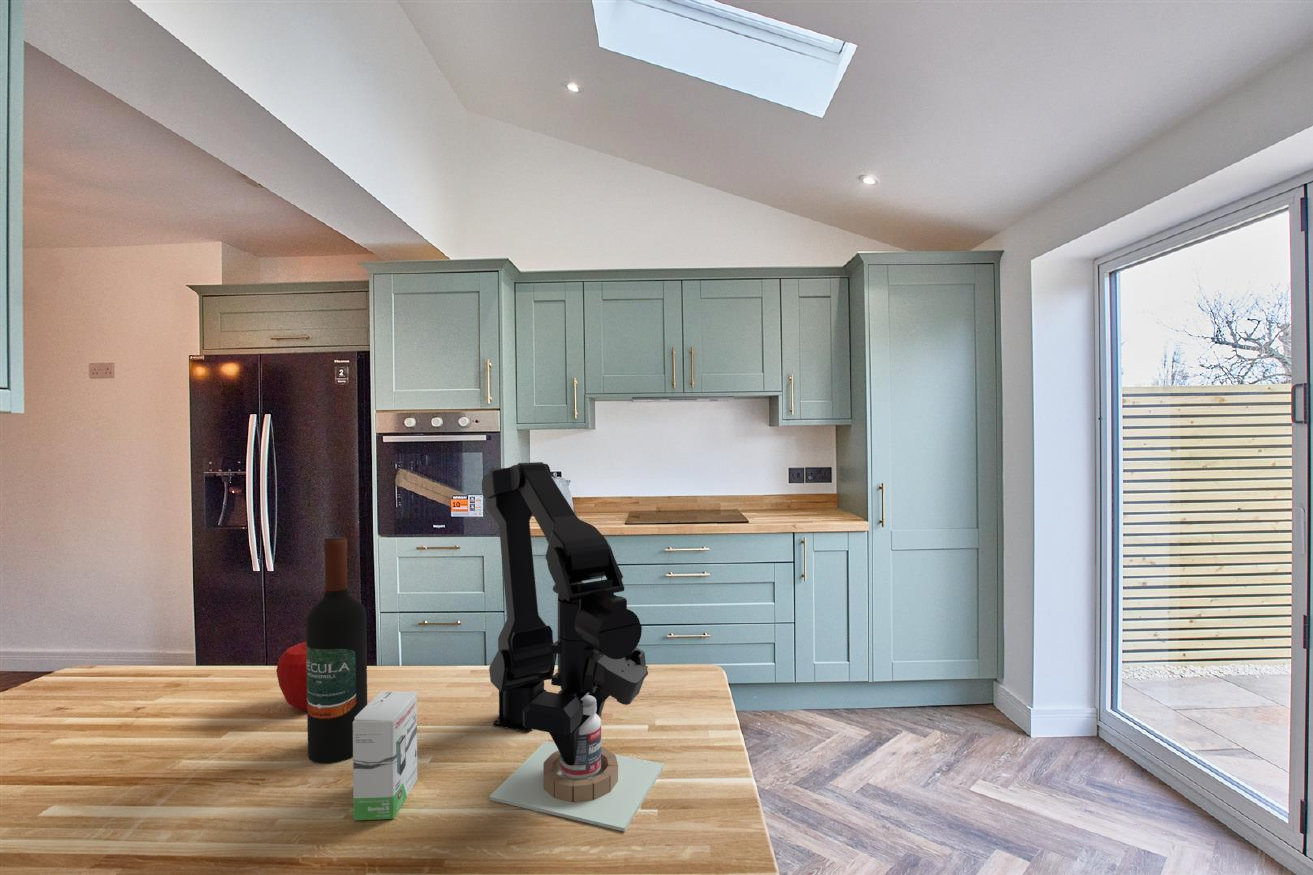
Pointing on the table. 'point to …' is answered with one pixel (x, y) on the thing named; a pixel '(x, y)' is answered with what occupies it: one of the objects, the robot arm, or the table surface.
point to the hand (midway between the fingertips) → (580, 753)
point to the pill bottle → (586, 745)
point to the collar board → (581, 811)
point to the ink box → (384, 755)
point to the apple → (294, 676)
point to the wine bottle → (335, 662)
